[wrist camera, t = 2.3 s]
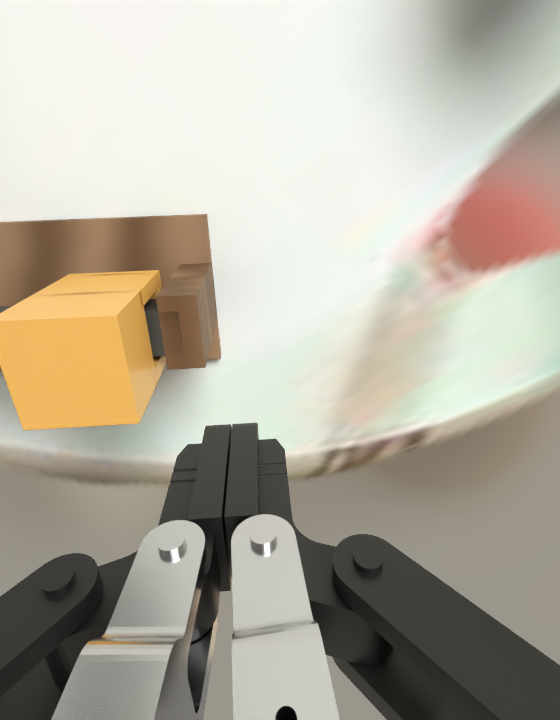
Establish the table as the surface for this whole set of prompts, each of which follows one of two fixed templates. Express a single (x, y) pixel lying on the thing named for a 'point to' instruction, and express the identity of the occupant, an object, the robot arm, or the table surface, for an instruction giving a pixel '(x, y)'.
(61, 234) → the wooden slider rail stand
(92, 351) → the yellow slider block
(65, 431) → the table surface
